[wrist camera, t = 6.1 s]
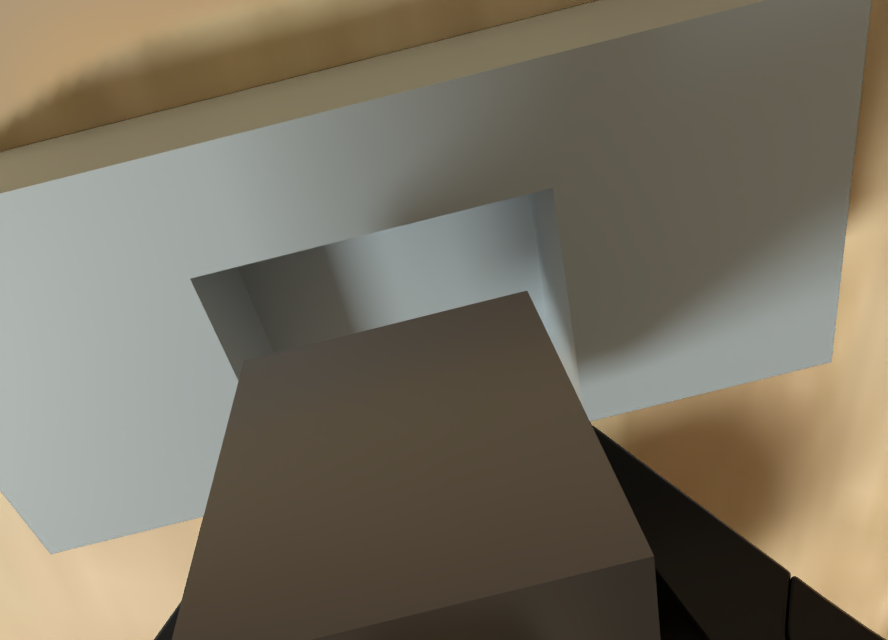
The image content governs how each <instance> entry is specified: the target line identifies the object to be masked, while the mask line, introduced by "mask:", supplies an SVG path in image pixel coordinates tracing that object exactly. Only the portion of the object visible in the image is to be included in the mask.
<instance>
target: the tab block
mask: <svg viewBox="0 0 888 640" xmlns="http://www.w3.org/2000/svg"><path fill="white" fill-rule="evenodd" d="M172 640H661V639H660V626H659V613H658V600H657V587H656V574H655V561H654V555H653V553H652V551H651V549H650V546H649V544H648V542H647V540H646V538H645V536H644V534H643V532H642V530H641V528H640V525H639V523H638V521H637V519H636V517H635V515H634V513H633V511H632V509H631V507H630V505H629V502H628V500H627V498H626V496H625V494H624V492H623V490H622V488H621V486H620V484H619V482H618V479H617V477H616V475H615V473H614V471H613V469H612V467H611V465H610V463H609V461H608V458H607V456H606V454H605V452H604V450H603V448H602V446H601V444H600V442H599V440H598V438H597V435H596V433H595V431H594V429H593V427H592V425H591V423H590V421H589V419H588V417H587V414H586V412H585V410H584V408H583V406H582V404H581V402H580V400H579V398H578V396H577V394H576V391H575V389H574V387H573V385H572V383H571V381H570V379H569V377H568V375H567V373H566V370H565V368H564V366H563V364H562V362H561V360H560V358H559V356H558V354H557V352H556V350H555V347H554V345H553V343H552V341H551V339H550V337H549V335H548V333H547V331H546V329H545V327H544V324H543V322H542V320H541V318H540V316H539V314H538V312H537V310H536V308H535V306H534V303H533V301H532V299H531V297H530V295H529V293H528V291H523V292H519V293H515V294H511V295H507V296H503V297H499V298H495V299H491V300H487V301H483V302H479V303H474V304H470V305H466V306H462V307H458V308H454V309H450V310H446V311H442V312H438V313H434V314H430V315H426V316H422V317H418V318H414V319H410V320H406V321H402V322H398V323H394V324H390V325H386V326H382V327H378V328H374V329H370V330H366V331H362V332H358V333H354V334H350V335H346V336H342V337H338V338H334V339H330V340H326V341H322V342H318V343H313V344H309V345H305V346H301V347H297V348H293V349H289V350H285V351H281V352H277V353H273V354H269V355H265V356H261V357H257V358H253V359H249V360H245V361H244V362H243V366H242V369H241V373H240V377H239V381H238V385H237V389H236V393H235V397H234V400H233V404H232V408H231V412H230V416H229V420H228V424H227V428H226V431H225V435H224V439H223V443H222V447H221V451H220V455H219V458H218V462H217V466H216V470H215V474H214V478H213V482H212V486H211V489H210V493H209V497H208V501H207V505H206V509H205V513H204V517H203V520H202V524H201V528H200V532H199V536H198V540H197V544H196V547H195V551H194V555H193V559H192V563H191V567H190V571H189V575H188V578H187V582H186V586H185V590H184V594H183V598H182V602H181V606H180V609H179V613H178V617H177V621H176V625H175V629H174V633H173V637H172Z"/></svg>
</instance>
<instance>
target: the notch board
mask: <svg viewBox="0 0 888 640" xmlns="http://www.w3.org/2000/svg"><path fill="white" fill-rule="evenodd" d="M871 2H872V0H598V1H594V2H590V3H586V4H582V5H579V6H575V7H571V8H567V9H563V10H559V11H555V12H551V13H547V14H543V15H539V16H535V17H531V18H527V19H523V20H519V21H515V22H511V23H507V24H504V25H500V26H496V27H492V28H488V29H484V30H480V31H476V32H472V33H468V34H464V35H460V36H456V37H452V38H448V39H444V40H440V41H436V42H432V43H428V44H425V45H421V46H417V47H413V48H409V49H405V50H401V51H397V52H393V53H389V54H385V55H381V56H377V57H373V58H369V59H365V60H361V61H357V62H353V63H349V64H346V65H342V66H338V67H334V68H330V69H326V70H322V71H318V72H314V73H310V74H306V75H302V76H298V77H294V78H290V79H286V80H282V81H278V82H274V83H270V84H267V85H263V86H259V87H255V88H251V89H247V90H243V91H239V92H235V93H231V94H227V95H223V96H219V97H215V98H211V99H207V100H203V101H199V102H195V103H191V104H188V105H184V106H180V107H176V108H172V109H168V110H164V111H160V112H156V113H152V114H148V115H144V116H140V117H136V118H132V119H128V120H124V121H120V122H116V123H112V124H109V125H105V126H101V127H97V128H93V129H89V130H85V131H81V132H77V133H73V134H69V135H65V136H61V137H57V138H53V139H49V140H45V141H41V142H37V143H33V144H30V145H26V146H22V147H18V148H14V149H10V150H6V151H2V152H0V491H1V493H2V494H3V495H4V496H5V498H6V499H7V500H8V501H9V503H10V504H11V505H12V506H13V508H14V509H15V510H16V511H17V513H18V514H19V515H20V516H21V518H22V519H23V520H24V522H25V523H26V524H27V525H28V527H29V528H30V529H31V530H32V532H33V533H34V534H35V535H36V537H37V538H38V539H39V540H40V542H41V543H42V544H43V545H44V547H45V548H46V549H47V550H48V552H49V553H50V554H54V553H58V552H62V551H66V550H70V549H74V548H78V547H82V546H86V545H90V544H95V543H99V542H103V541H107V540H111V539H115V538H119V537H123V536H127V535H131V534H135V533H139V532H143V531H147V530H151V529H155V528H160V527H164V526H168V525H172V524H176V523H180V522H184V521H188V520H192V519H196V518H200V517H204V513H205V509H206V505H207V501H208V497H209V493H210V489H211V486H212V482H213V478H214V474H215V470H216V466H217V462H218V458H219V455H220V451H221V447H222V443H223V439H224V435H225V431H226V428H227V424H228V420H229V416H230V412H231V408H232V404H233V400H234V397H235V393H236V389H237V385H238V381H239V377H240V373H241V369H242V366H243V362H244V361H245V360H249V359H253V358H257V357H261V356H265V355H269V354H273V353H277V352H281V351H285V350H289V349H293V348H297V347H301V346H305V345H309V344H313V343H318V342H322V341H326V340H330V339H334V338H338V337H342V336H346V335H350V334H354V333H358V332H362V331H366V330H370V329H374V328H378V327H382V326H386V325H390V324H394V323H398V322H402V321H406V320H410V319H414V318H418V317H422V316H426V315H430V314H434V313H438V312H442V311H446V310H450V309H454V308H458V307H462V306H466V305H470V304H474V303H479V302H483V301H487V300H491V299H495V298H499V297H503V296H507V295H511V294H515V293H519V292H523V291H528V293H529V295H530V297H531V299H532V301H533V303H534V306H535V308H536V310H537V312H538V314H539V316H540V318H541V320H542V322H543V324H544V327H545V329H546V331H547V333H548V335H549V337H550V339H551V341H552V343H553V345H554V347H555V350H556V352H557V354H558V356H559V358H560V360H561V362H562V364H563V366H564V368H565V370H566V373H567V375H568V377H569V379H570V381H571V383H572V385H573V387H574V389H575V391H576V394H577V396H578V398H579V400H580V402H581V404H582V406H583V408H584V410H585V412H586V414H587V417H588V419H589V421H594V420H598V419H602V418H606V417H610V416H614V415H619V414H623V413H627V412H631V411H635V410H639V409H643V408H647V407H651V406H655V405H659V404H663V403H667V402H671V401H675V400H679V399H684V398H688V397H692V396H696V395H700V394H704V393H708V392H712V391H716V390H720V389H724V388H728V387H732V386H736V385H740V384H744V383H749V382H753V381H757V380H761V379H765V378H769V377H773V376H777V375H781V374H785V373H789V372H793V371H797V370H801V369H805V368H809V367H814V366H818V365H822V364H826V363H830V362H831V361H832V352H833V343H834V334H835V325H836V317H837V308H838V299H839V290H840V281H841V272H842V263H843V254H844V245H845V236H846V227H847V218H848V209H849V200H850V191H851V182H852V173H853V164H854V155H855V146H856V137H857V128H858V119H859V110H860V101H861V92H862V83H863V74H864V65H865V56H866V47H867V38H868V29H869V20H870V11H871Z"/></svg>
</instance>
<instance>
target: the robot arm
mask: <svg viewBox="0 0 888 640" xmlns="http://www.w3.org/2000/svg"><path fill="white" fill-rule="evenodd" d="M592 427H593V429H594V431H595V433H596V435H597V438H598V440H599V442H600V444H601V446H602V448H603V450H604V452H605V454H606V456H607V458H608V461H609V463H610V465H611V467H612V469H613V471H614V473H615V475H616V477H617V479H618V482H619V484H620V486H621V488H622V490H623V492H624V494H625V496H626V498H627V500H628V502H629V505H630V507H631V509H632V511H633V513H634V515H635V517H636V519H637V521H638V523H639V525H640V528H641V530H642V532H643V534H644V536H645V538H646V540H647V542H648V544H649V546H650V549H651V551H652V553H653V555H654V561H655V574H656V587H657V600H658V613H659V626H660V639H661V640H886V639H884V638H883V637H881V636H880V635H878V634H876V633H875V632H873V631H872V630H870V629H869V628H867V627H866V626H864V625H863V624H862V623H860V622H859V621H857V620H856V619H854V618H853V617H852V616H850V615H849V614H847V613H846V612H845V611H843V610H842V609H840V608H839V607H837V606H836V605H835V604H833V603H832V602H830V601H829V600H828V599H826V598H825V597H823V596H822V595H821V594H819V593H818V592H817V591H815V590H814V589H813V588H811V587H810V586H808V585H807V584H806V583H805V582H803V581H802V580H801V579H799V578H798V577H796V576H793V577H792V578H791V574H790V572H789V571H788V570H787V569H785V568H784V567H783V566H781V565H780V564H779V563H777V562H776V561H775V560H773V559H772V558H771V557H769V556H768V555H766V554H765V553H764V552H762V551H761V550H760V549H758V548H757V547H756V546H754V545H753V544H752V543H750V542H749V541H748V540H746V539H745V538H744V537H742V536H741V535H740V534H738V533H737V532H735V531H734V530H733V529H731V528H730V527H729V526H727V525H726V524H725V523H723V522H722V521H721V520H719V519H718V518H717V517H715V516H714V515H713V514H711V513H710V512H709V511H707V510H706V509H705V508H703V507H702V506H700V505H699V504H698V503H696V502H695V501H694V500H692V499H691V498H690V497H688V496H687V495H686V494H684V493H683V492H682V491H680V490H679V489H678V488H676V487H675V486H674V485H672V484H671V483H670V482H668V481H667V480H665V479H664V478H663V477H661V476H660V475H659V474H657V473H656V472H655V471H653V470H652V469H651V468H649V467H648V466H647V465H645V464H644V463H643V462H641V461H640V460H639V459H637V458H636V457H634V456H633V455H632V454H630V453H629V452H628V451H626V450H625V449H624V448H622V447H621V446H620V445H618V444H617V443H616V442H614V441H613V440H612V439H610V438H609V437H608V436H606V435H605V434H604V433H602V432H601V431H599V430H598V429H597V428H595V427H594V426H592ZM790 579H791V580H790ZM181 602H182V601H181ZM181 602H180V604H179V605H178V607H177V608H176V609H175V611H174V612H173V614H172V615H171V616H170V618H169V619H168V621H167V622H166V623H165V625H164V626H163V628H162V629H161V630H160V632H159V633H158V635H157V636H156V637H155V639H154V640H172V637H173V633H174V629H175V625H176V621H177V617H178V613H179V609H180V606H181Z"/></svg>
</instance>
